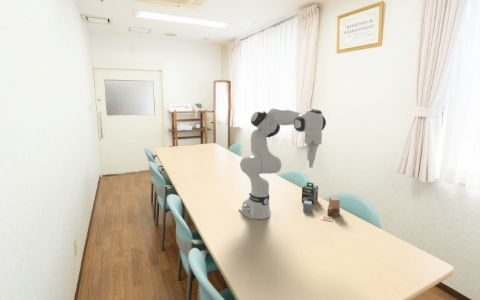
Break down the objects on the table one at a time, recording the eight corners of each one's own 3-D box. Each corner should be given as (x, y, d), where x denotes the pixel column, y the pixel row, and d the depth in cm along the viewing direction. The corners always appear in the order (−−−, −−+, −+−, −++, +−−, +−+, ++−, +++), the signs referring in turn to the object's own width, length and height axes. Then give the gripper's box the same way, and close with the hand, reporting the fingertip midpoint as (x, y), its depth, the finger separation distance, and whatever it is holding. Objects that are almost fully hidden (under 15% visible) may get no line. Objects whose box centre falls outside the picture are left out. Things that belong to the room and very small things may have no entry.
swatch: (320, 219, 165) (320, 219, 165) (320, 215, 171) (321, 215, 170) (332, 221, 163) (332, 220, 163) (332, 217, 168) (332, 216, 168)
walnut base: (327, 216, 171) (328, 208, 170) (327, 211, 177) (328, 204, 176) (339, 217, 169) (339, 210, 168) (338, 213, 175) (339, 206, 174)
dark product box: (317, 200, 195) (319, 181, 192) (313, 205, 187) (314, 185, 184) (305, 198, 200) (306, 179, 197) (301, 201, 193) (302, 182, 189)
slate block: (303, 211, 177) (303, 203, 175) (303, 208, 181) (304, 200, 180) (310, 212, 175) (311, 204, 174) (311, 209, 180) (311, 201, 178)
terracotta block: (331, 208, 170) (331, 200, 169) (329, 205, 175) (329, 197, 174) (339, 208, 170) (339, 200, 168) (336, 205, 175) (337, 197, 173)
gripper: (318, 143, 130) (316, 170, 133) (319, 137, 149) (318, 161, 152) (305, 143, 132) (303, 169, 135) (308, 137, 151) (306, 160, 154)
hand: (311, 165), depth 144 cm, fingers open, 8 cm apart
